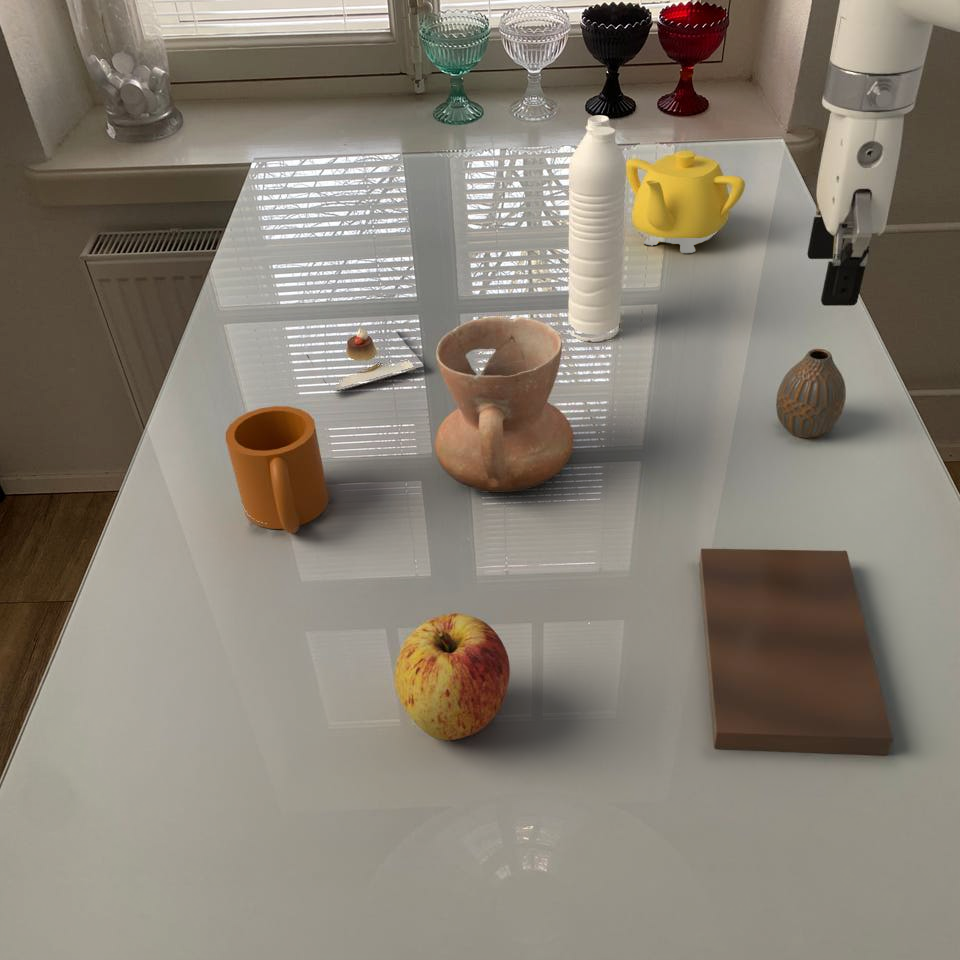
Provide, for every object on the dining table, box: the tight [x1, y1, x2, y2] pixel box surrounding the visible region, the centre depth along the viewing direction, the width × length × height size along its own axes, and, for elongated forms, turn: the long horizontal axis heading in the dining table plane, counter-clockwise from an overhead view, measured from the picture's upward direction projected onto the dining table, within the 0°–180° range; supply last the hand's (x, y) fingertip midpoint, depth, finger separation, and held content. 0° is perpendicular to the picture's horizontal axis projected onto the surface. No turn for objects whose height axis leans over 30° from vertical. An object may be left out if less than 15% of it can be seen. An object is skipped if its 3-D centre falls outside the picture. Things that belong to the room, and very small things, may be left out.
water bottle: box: [567, 114, 627, 343], centre depth 116 cm, size 9×6×25 cm
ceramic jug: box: [434, 315, 575, 493], centre depth 100 cm, size 18×14×14 cm
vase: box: [775, 348, 847, 439], centre depth 104 cm, size 7×7×9 cm
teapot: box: [626, 149, 746, 238], centre depth 138 cm, size 14×14×12 cm
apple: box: [394, 612, 511, 741], centre depth 77 cm, size 9×9×10 cm
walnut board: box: [698, 548, 894, 756], centre depth 83 cm, size 22×13×2 cm, turn 174°
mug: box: [225, 405, 330, 534], centre depth 99 cm, size 9×12×9 cm
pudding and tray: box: [336, 327, 416, 392], centre depth 121 cm, size 12×12×5 cm
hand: (830, 280), depth 96 cm, fingers open, 9 cm apart
